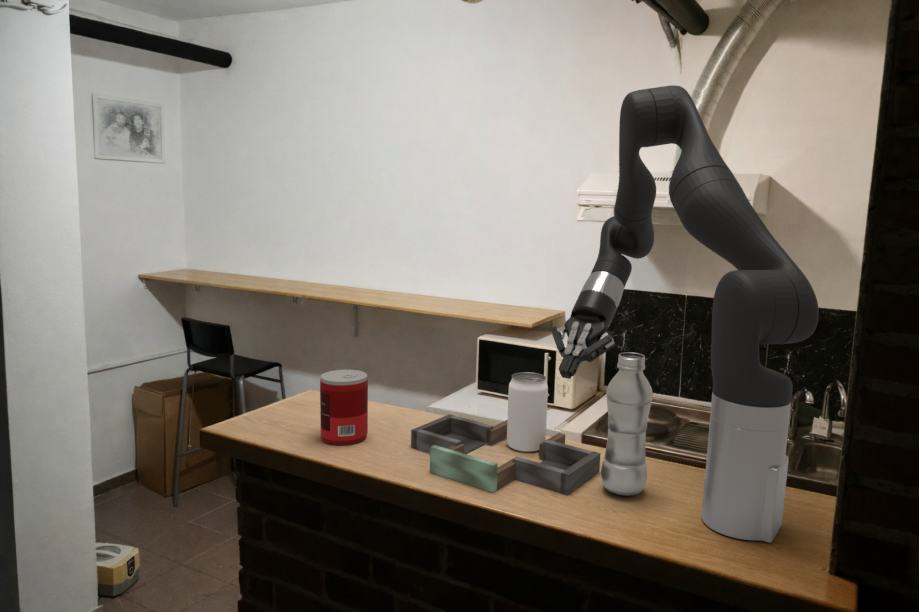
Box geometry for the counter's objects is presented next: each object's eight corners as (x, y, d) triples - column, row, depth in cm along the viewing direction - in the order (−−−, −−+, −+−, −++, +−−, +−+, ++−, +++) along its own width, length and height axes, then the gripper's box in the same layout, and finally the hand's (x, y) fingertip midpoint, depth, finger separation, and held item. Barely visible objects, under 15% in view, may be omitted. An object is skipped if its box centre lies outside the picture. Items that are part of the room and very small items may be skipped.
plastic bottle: (595, 496, 98) (604, 358, 95) (604, 478, 104) (612, 348, 101) (642, 504, 96) (653, 363, 92) (648, 486, 102) (658, 352, 99)
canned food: (376, 435, 120) (377, 373, 118) (345, 449, 113) (345, 384, 112) (343, 426, 124) (342, 366, 122) (311, 439, 117) (310, 376, 116)
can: (532, 456, 112) (535, 384, 110) (499, 446, 116) (501, 377, 114) (552, 445, 117) (555, 376, 115) (519, 436, 121) (522, 369, 119)
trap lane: (613, 461, 111) (615, 437, 110) (547, 510, 94) (548, 481, 93) (466, 422, 128) (466, 401, 127) (386, 458, 110) (386, 433, 110)
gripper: (561, 285, 134) (526, 358, 127) (626, 292, 127) (592, 370, 119) (572, 308, 139) (539, 380, 132) (635, 317, 132) (604, 394, 124)
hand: (564, 375), depth 125 cm, fingers closed
